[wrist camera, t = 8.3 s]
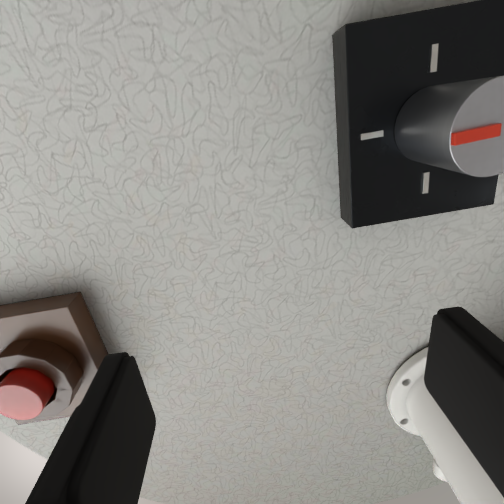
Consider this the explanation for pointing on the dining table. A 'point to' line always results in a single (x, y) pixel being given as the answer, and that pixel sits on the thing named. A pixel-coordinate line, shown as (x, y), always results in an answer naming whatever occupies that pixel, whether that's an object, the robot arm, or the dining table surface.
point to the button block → (52, 348)
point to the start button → (24, 393)
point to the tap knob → (455, 126)
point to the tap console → (394, 97)
